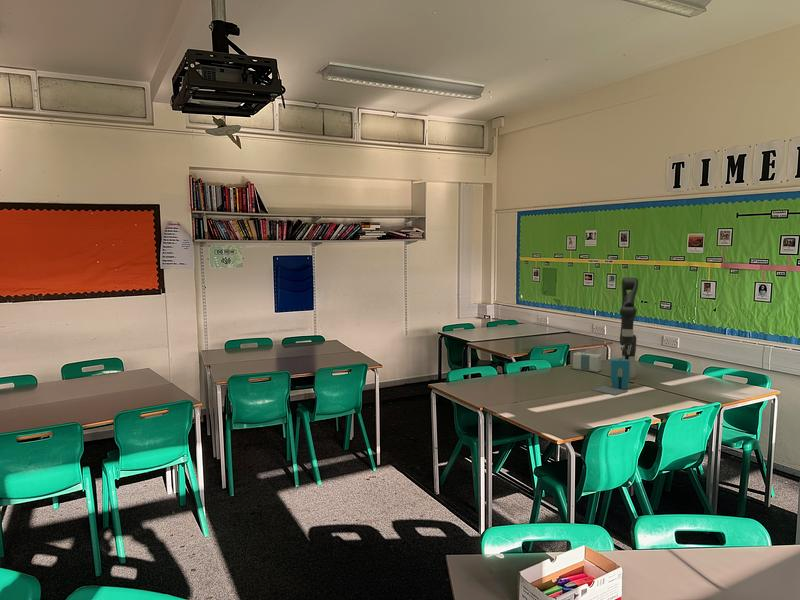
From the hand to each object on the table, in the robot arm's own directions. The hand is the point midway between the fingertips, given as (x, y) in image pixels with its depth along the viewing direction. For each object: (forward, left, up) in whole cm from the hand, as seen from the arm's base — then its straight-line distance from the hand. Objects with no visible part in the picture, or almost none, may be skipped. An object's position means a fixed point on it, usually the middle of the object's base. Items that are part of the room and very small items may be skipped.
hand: (626, 359), depth 391 cm
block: (+8, 0, -19) cm, 21 cm away
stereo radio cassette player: (-21, -47, -20) cm, 55 cm away
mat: (+20, 0, -19) cm, 28 cm away
